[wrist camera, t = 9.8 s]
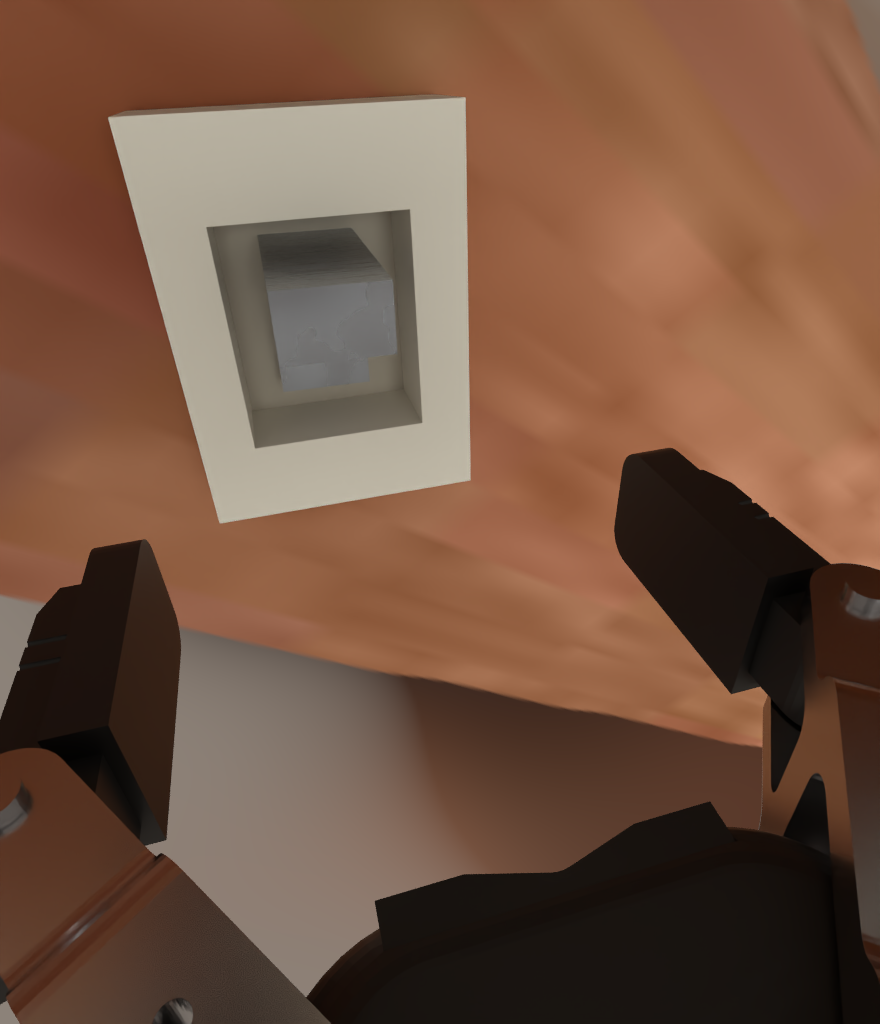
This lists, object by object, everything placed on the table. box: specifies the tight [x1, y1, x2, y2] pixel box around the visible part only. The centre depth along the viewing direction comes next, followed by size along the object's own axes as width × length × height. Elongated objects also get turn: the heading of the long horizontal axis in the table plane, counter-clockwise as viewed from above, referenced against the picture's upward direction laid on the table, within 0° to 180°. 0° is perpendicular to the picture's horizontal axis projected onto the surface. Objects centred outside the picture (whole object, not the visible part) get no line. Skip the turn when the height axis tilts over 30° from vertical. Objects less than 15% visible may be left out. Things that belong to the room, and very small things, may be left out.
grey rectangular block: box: [257, 228, 397, 392], centre depth 26 cm, size 6×4×9 cm, turn 2°
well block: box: [108, 94, 470, 523], centre depth 29 cm, size 16×12×4 cm
